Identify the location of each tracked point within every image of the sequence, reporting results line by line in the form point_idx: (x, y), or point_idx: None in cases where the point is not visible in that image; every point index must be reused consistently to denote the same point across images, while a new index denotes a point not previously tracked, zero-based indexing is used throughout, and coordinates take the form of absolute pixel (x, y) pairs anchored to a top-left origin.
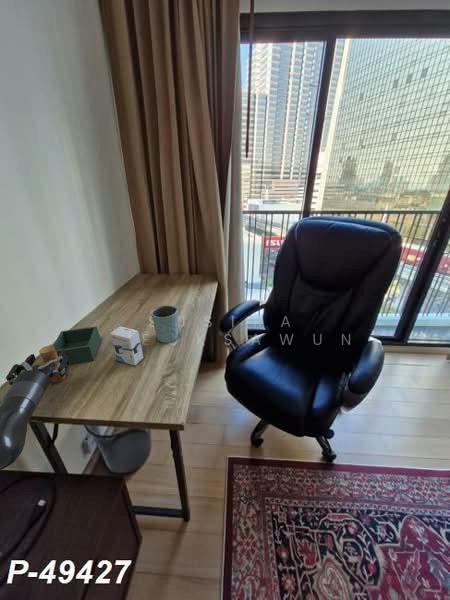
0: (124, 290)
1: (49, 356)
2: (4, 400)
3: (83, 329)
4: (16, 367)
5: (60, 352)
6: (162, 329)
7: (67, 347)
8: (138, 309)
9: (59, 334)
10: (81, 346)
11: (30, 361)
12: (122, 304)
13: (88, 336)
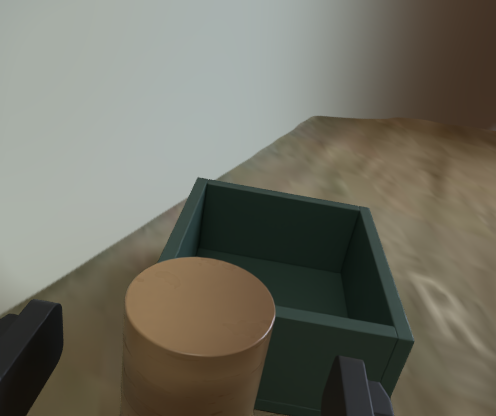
0: (342, 118)
1: (216, 402)
2: None
3: (305, 203)
4: None
5: (346, 398)
6: None
7: None
8: (437, 190)
9: (192, 191)
10: (357, 320)
11: (6, 401)
12: (361, 155)
13: (308, 246)
